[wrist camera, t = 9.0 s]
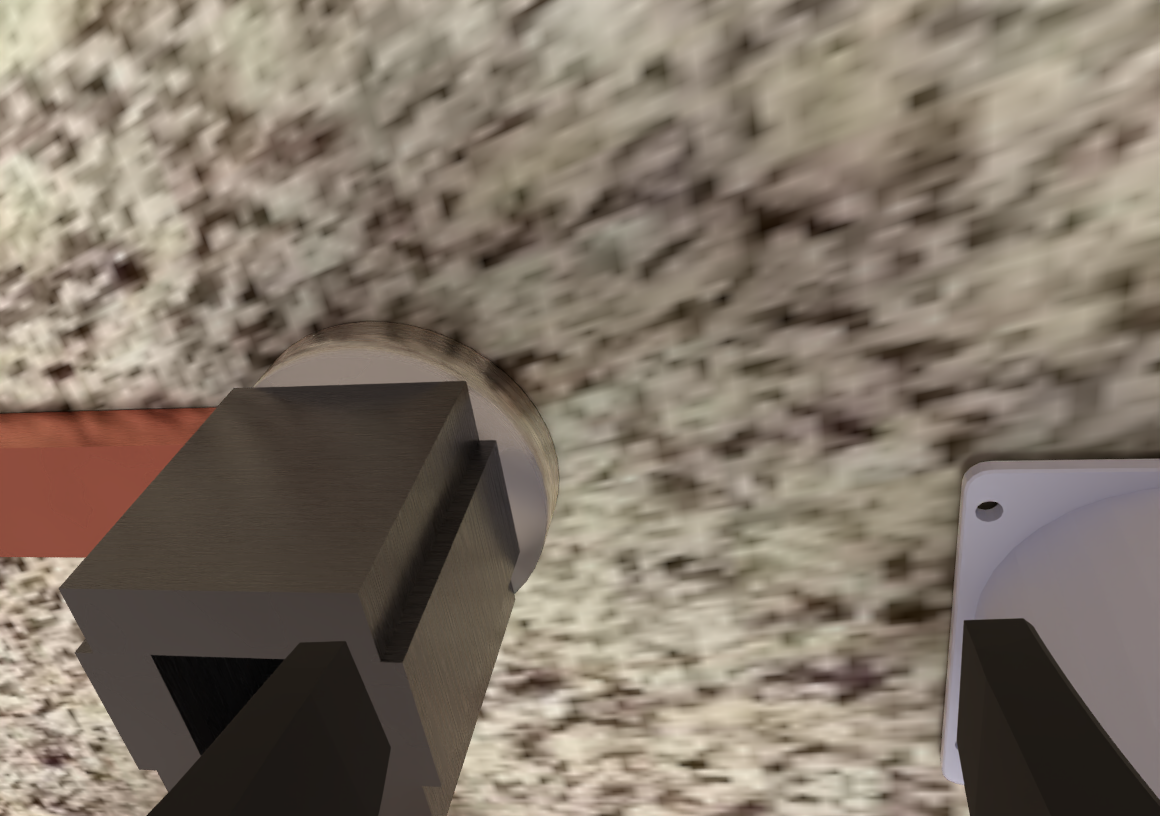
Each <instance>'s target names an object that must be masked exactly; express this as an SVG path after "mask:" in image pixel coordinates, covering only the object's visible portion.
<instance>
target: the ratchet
mask: <svg viewBox="0 0 1160 816" xmlns="http://www.w3.org/2000/svg"><path fill="white" fill-rule="evenodd" d="M444 381H466V382H467V387H468V391H469V396H470V400H471V405H472V409H473V414H474V418H475V422H476V427H477V431H478V436H479V440H496V442H497V446H498V451H499V455H500V460H501V465H502V469H503V474H504V479H505V483H506V488H507V493H508V497H509V502H510V507H511V511H512V516H513V521H514V525H515V530H516V535H517V539H518V544H519V549H520V553H519V556H518V559H517V562H516V565H515V568H514V571H513V574H512V577H511V582H512V587H513V591H514V594H515V593H516V592H517V591H518V590H519V589H520V588H521V587H522V585H523V584H524V583H525V582H526V581H527V580H528V578H529V576H530V575H531V573H532V572H533V570H534V569H535V567H536V564H537V562H538V560H539V557H540V555H541V552H542V549H543V546H544V542H545V539H546V536H547V533H548V529H549V526H550V523H551V519H552V516H553V513H554V509H555V505H556V501H557V496H558V486H559V472H558V463H557V457H556V453H555V449H554V446H553V442H552V440H551V437H550V435H549V432H548V430H547V428H546V425H545V423H544V422H543V420H542V418H541V416H540V415H539V413H538V411H537V410H536V408H535V406H534V405H533V404H532V402H531V401H530V400H529V399H528V397H527V396H526V395H525V393H524V392H523V391H522V390H521V389H520V388H519V387H518V386H517V385H516V384H515V382H514V381H513V380H512V379H511V378H510V377H509V376H508V375H507V374H505V373H504V372H503V371H502V370H500V369H499V368H498V367H497V366H496V365H494V364H493V363H492V362H491V361H489V360H488V359H486V358H485V357H483V356H482V355H480V354H479V353H477V352H475V351H474V350H472V349H471V348H469V347H467V346H465V345H463V344H461V343H459V342H457V341H455V340H453V339H451V338H448V337H446V336H443V335H440V334H438V333H435V332H432V331H430V330H426V329H422V328H418V327H414V326H410V325H405V324H398V323H390V322H356V323H347V324H341V325H337V326H333V327H329V328H325V329H323V330H320V331H318V332H316V333H313V334H311V335H308V336H306V337H305V338H303V339H301V340H300V341H298V342H296V343H295V344H293V345H292V346H291V347H289V348H288V349H287V350H286V351H285V352H284V353H282V354H281V355H280V356H279V357H278V358H277V359H276V361H275V362H274V363H273V364H272V365H271V366H270V368H269V369H268V370H267V371H266V372H265V374H264V375H263V376H262V377H261V378H260V379H259V381H258V382H257V383H256V384H255V385H254V387H253V388H258V387H289V386H320V385H351V384H382V383H413V382H444ZM215 409H216V408H184V409H148V410H113V411H78V412H43V413H8V414H0V557H87V556H88V554H89V553H90V552H91V551H92V550H93V549H94V548H95V546H96V545H97V544H98V543H99V542H100V541H101V540H102V538H103V537H104V536H105V535H106V534H107V533H108V532H109V530H110V529H111V528H112V527H113V526H114V525H115V524H116V522H117V521H118V520H119V519H120V518H121V517H122V516H123V514H124V513H125V512H126V511H127V510H128V509H129V508H130V506H131V505H132V504H133V503H134V502H135V501H136V500H137V498H138V497H139V496H140V495H141V494H142V493H143V492H144V490H145V489H146V488H147V487H148V486H149V485H150V484H151V482H152V481H153V480H154V479H155V478H156V477H157V475H158V474H159V473H160V472H161V471H162V470H163V469H164V467H165V466H166V465H167V464H168V463H169V462H170V461H171V459H172V458H173V457H174V456H175V455H176V454H177V453H178V451H179V450H180V449H181V448H182V447H183V446H184V445H185V443H186V442H187V441H188V440H189V439H190V438H191V437H192V435H193V434H194V433H195V432H196V431H197V430H198V429H199V427H200V426H201V425H202V424H203V423H204V422H205V421H206V419H207V418H208V417H209V416H210V415H211V414H212V413H213V411H214V410H215Z"/></svg>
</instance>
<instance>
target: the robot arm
mask: <svg viewBox="0 0 1160 816" xmlns="http://www.w3.org/2000/svg"><path fill="white" fill-rule="evenodd" d="M987 501H993V502H998V505H996V506H995V507H993V508H992V509H987V510H983V509H978V508H977V506H979V505H980V504H981V503H983V502H987ZM390 751H391V746H390V744H389V742H388V739H387V737H386V735H385V732H384V730H383V728H382V725H381V723H380V720H379V718H378V716H377V713H376V711H375V709H374V706H373V704H372V702H371V699H370V697H369V695H368V692H367V690H366V688H365V685H364V683H363V681H362V678H361V676H360V673H359V671H358V669H357V666H356V664H355V662H354V659H353V657H352V655H351V652H350V650H349V648H348V645H347V643H346V641H330V642H300V643H299V644H298V645H297V646H296V647H295V648H294V650H293V651H292V652H291V653H290V654H289V655H288V656H287V657H286V659H285V660H284V661H283V662H282V663H281V664H280V665H279V667H278V668H277V669H276V670H275V671H274V672H273V674H272V675H271V676H270V677H269V678H268V679H267V680H266V682H265V683H264V684H263V685H262V686H261V687H260V689H259V690H258V691H257V692H256V693H255V694H254V696H253V697H252V698H251V699H250V700H249V701H248V703H247V704H246V705H245V706H244V707H243V708H242V710H241V711H240V712H239V713H238V714H237V715H236V716H235V718H234V719H233V720H232V721H231V722H230V723H229V725H228V726H227V727H226V728H225V729H224V730H223V732H222V733H221V734H220V735H219V736H218V737H217V738H216V740H215V741H214V742H213V743H212V744H211V745H210V746H209V748H208V749H207V750H206V751H205V752H204V753H203V754H202V755H201V757H200V758H199V759H198V760H197V761H196V762H195V763H194V764H193V766H192V767H191V768H190V769H189V770H188V771H187V772H186V773H185V775H184V776H183V777H182V778H181V779H180V780H179V781H178V782H177V784H176V785H175V786H174V787H173V788H172V789H171V790H170V791H169V793H168V794H167V795H166V796H165V797H164V798H163V799H162V800H161V801H160V802H159V803H158V804H157V805H156V806H155V807H154V808H153V809H152V811H151V812H150V813H149V814H148V815H147V816H378V815H379V810H380V805H381V801H382V796H383V791H384V785H385V779H386V774H387V768H388V762H389V757H390ZM940 761H941V767H942V772H943V775H944V776H945V777H946V779H947V780H949V781H951V782H954V783H956V784H962V785H964V786H965V791H966V797H967V802H968V807H969V813H970V816H1160V459H1095V460H1020V461H986V462H980V463H978V464H976V465H974V466H972V467H970V468H969V469H968V471H967V472H966V473H965V474H964V477H963V480H962V486H961V499H960V512H959V525H958V538H957V551H956V564H955V577H954V590H953V603H952V615H951V628H950V641H949V654H948V667H947V680H946V693H945V706H944V719H943V732H942V745H941V757H940Z"/></svg>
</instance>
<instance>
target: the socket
mask: <svg viewBox="0 0 1160 816" xmlns="http://www.w3.org/2000/svg"><path fill="white" fill-rule="evenodd" d="M519 553H520V549H519V544H518V539H517V535H516V530H515V525H514V521H513V516H512V511H511V507H510V502H509V497H508V493H507V488H506V483H505V479H504V474H503V469H502V465H501V460H500V455H499V451H498V446H497V442H496V440H479V436H478V431H477V427H476V422H475V418H474V414H473V409H472V405H471V400H470V396H469V391H468V387H467V382H466V381H444V382H413V383H382V384H351V385H320V386H289V387H258V388H234V389H233V390H232V391H231V392H230V393H229V394H228V395H227V397H226V398H225V399H224V400H223V401H222V402H221V403H220V405H219V406H218V407H217V408H216V409H215V410H214V411H213V413H212V414H211V415H210V416H209V417H208V418H207V419H206V421H205V422H204V423H203V424H202V425H201V426H200V427H199V429H198V430H197V431H196V432H195V433H194V434H193V435H192V437H191V438H190V439H189V440H188V441H187V442H186V443H185V445H184V446H183V447H182V448H181V449H180V450H179V451H178V453H177V454H176V455H175V456H174V457H173V458H172V459H171V461H170V462H169V463H168V464H167V465H166V466H165V467H164V469H163V470H162V471H161V472H160V473H159V474H158V475H157V477H156V478H155V479H154V480H153V481H152V482H151V484H150V485H149V486H148V487H147V488H146V489H145V490H144V492H143V493H142V494H141V495H140V496H139V497H138V498H137V500H136V501H135V502H134V503H133V504H132V505H131V506H130V508H129V509H128V510H127V511H126V512H125V513H124V514H123V516H122V517H121V518H120V519H119V520H118V521H117V522H116V524H115V525H114V526H113V527H112V528H111V529H110V530H109V532H108V533H107V534H106V535H105V536H104V537H103V538H102V540H101V541H100V542H99V543H98V544H97V545H96V546H95V548H94V549H93V550H92V551H91V552H90V553H89V554H88V556H87V557H86V558H85V559H84V560H83V561H82V562H81V564H80V565H79V566H78V567H77V568H76V569H75V570H74V572H73V573H72V574H71V575H70V576H69V577H68V578H67V580H66V581H65V582H64V583H63V584H62V585H61V586H60V588H59V590H60V592H61V594H62V596H63V598H64V599H65V601H66V603H67V605H68V607H69V609H70V611H71V612H72V614H73V616H74V618H75V620H76V622H77V624H78V625H79V627H80V629H81V631H82V633H83V635H84V637H85V638H86V639H85V640H84V642H83V643H82V644H81V645H80V647H79V648H78V649H77V650H76V652H75V654H76V656H77V658H78V659H79V661H80V663H81V665H82V667H83V668H84V670H85V672H86V674H87V676H88V678H89V679H90V681H91V683H92V685H93V687H94V688H95V690H96V692H97V694H98V696H99V697H100V699H101V701H102V703H103V705H104V707H105V708H106V710H107V712H108V714H109V716H110V717H111V719H112V721H113V723H114V725H115V726H116V728H117V730H118V732H119V734H120V736H121V737H122V739H123V741H124V743H125V745H126V746H127V748H128V750H129V752H130V754H131V755H132V757H133V759H134V761H135V763H136V765H137V766H138V768H139V769H142V770H157V772H158V774H159V776H160V778H161V780H162V781H163V783H164V785H165V787H166V789H167V791H168V793H169V791H170V790H171V789H172V788H173V787H174V786H175V785H176V784H177V782H178V781H179V780H180V779H181V778H182V777H183V776H184V775H185V773H186V772H187V771H188V770H189V769H190V768H191V767H192V766H193V764H194V763H195V762H196V761H197V760H198V759H199V758H200V757H201V755H202V754H203V753H204V752H205V751H206V750H207V749H208V748H209V746H210V745H211V744H212V743H213V742H214V741H215V740H216V738H217V737H218V736H219V735H220V734H221V733H222V732H223V730H224V729H225V728H226V727H227V726H228V725H229V723H230V722H231V721H232V720H233V719H234V718H235V716H236V715H237V714H238V713H239V712H240V711H241V710H242V708H243V707H244V706H245V705H246V704H247V703H248V701H249V700H250V699H251V698H252V697H253V696H254V694H255V693H256V692H257V691H258V690H259V689H260V687H261V686H262V685H263V684H264V683H265V682H266V680H267V679H268V678H269V677H270V676H271V675H272V674H273V672H274V671H275V670H276V669H277V668H278V667H279V665H280V664H281V663H282V662H283V661H284V660H285V659H286V657H287V656H288V655H289V654H290V653H291V652H292V651H293V650H294V648H295V647H296V646H297V645H298V644H299V643H300V642H330V641H346V643H347V645H348V648H349V650H350V652H351V655H352V657H353V659H354V662H355V664H356V666H357V669H358V671H359V673H360V676H361V678H362V681H363V683H364V685H365V688H366V690H367V692H368V695H369V697H370V699H371V702H372V704H373V706H374V709H375V711H376V713H377V716H378V718H379V720H380V723H381V725H382V728H383V730H384V732H385V735H386V737H387V739H388V742H389V744H390V746H391V751H390V757H389V762H388V768H387V774H386V779H385V785H384V791H383V796H382V801H381V805H380V810H379V815H378V816H447V813H448V810H449V807H450V803H451V800H452V797H453V794H454V791H455V788H456V785H457V781H458V778H459V775H460V772H461V769H462V766H463V763H464V759H465V756H466V753H467V750H468V747H469V744H470V741H471V737H472V734H473V731H474V728H475V725H476V722H477V719H478V715H479V712H480V709H481V706H482V703H483V700H484V696H485V693H486V690H487V687H488V684H489V681H490V678H491V674H492V671H493V668H494V665H495V662H496V659H497V656H498V652H499V649H500V646H501V643H502V640H503V637H504V634H505V630H506V627H507V624H508V621H509V618H510V615H511V612H512V608H513V605H514V602H515V596H514V591H513V587H512V582H511V577H512V574H513V571H514V568H515V565H516V562H517V559H518V556H519Z"/></svg>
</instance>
